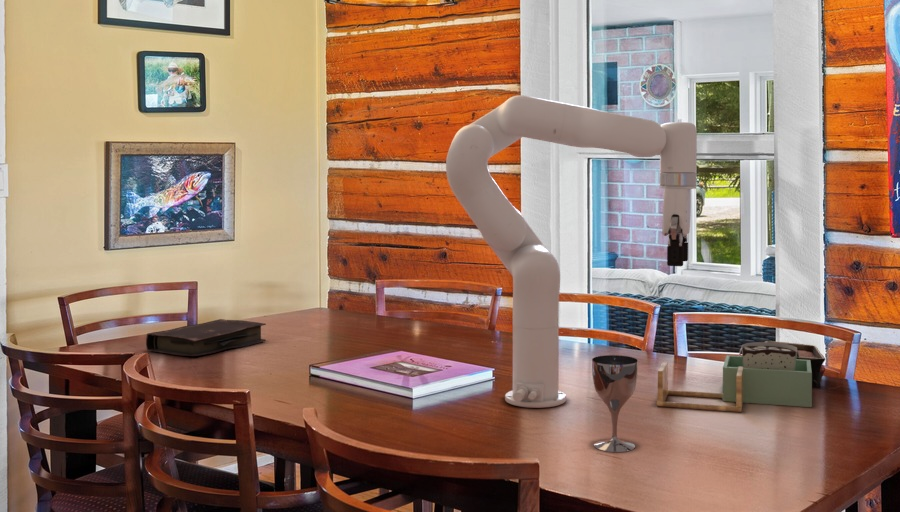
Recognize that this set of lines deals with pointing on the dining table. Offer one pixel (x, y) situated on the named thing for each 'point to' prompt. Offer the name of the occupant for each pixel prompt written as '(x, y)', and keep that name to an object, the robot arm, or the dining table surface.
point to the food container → (769, 356)
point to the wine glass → (614, 392)
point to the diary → (205, 337)
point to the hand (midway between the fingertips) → (677, 263)
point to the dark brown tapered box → (810, 354)
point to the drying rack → (696, 393)
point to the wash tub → (769, 384)
